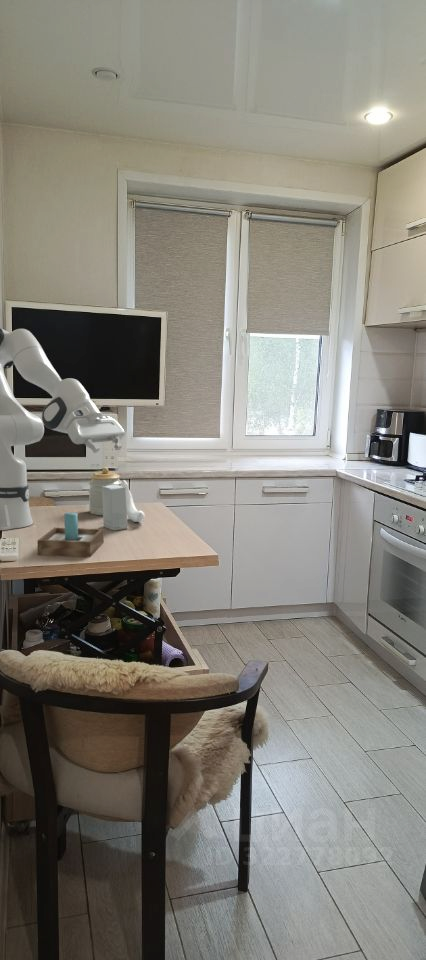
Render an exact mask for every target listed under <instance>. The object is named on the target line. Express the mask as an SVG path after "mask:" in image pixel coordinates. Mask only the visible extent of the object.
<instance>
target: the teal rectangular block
mask: <svg viewBox="0 0 426 960" xmlns="http://www.w3.org/2000/svg"><path fill="white" fill-rule="evenodd" d="M63 516H64V521H63V522H64V528H65V540H68V541H78V528H79V519H78V516H79V515H78V513H77V512H65V513H64V515H63Z"/></svg>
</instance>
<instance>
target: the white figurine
mask: <svg viewBox="0 0 426 960" xmlns="http://www.w3.org/2000/svg"><path fill="white" fill-rule="evenodd" d="M122 483H123V487H126V488H125V489H126V509H127V518H129V519H130V520H131V521H132V522H134V523H141V522H142V521H144V519H145V517H146V515H145V512H144V511H143V510H138V509H137V508H136V506H135V502H134V499H133V495H132V492H131V491H130V489H129V484H128V482H127V481H126V480H125V479H123V480H122Z"/></svg>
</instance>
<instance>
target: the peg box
mask: <svg viewBox="0 0 426 960" xmlns="http://www.w3.org/2000/svg"><path fill="white" fill-rule="evenodd" d="M104 534H105V533H104V528H87V527H86V528H84V527H83V528H80V527H78V541H68V540H65V527H53V528H52V529H51V530H49V531H48V532H47V533H45V534H44V535H43V536H41V537H40V538H38V539H37V556H53V557H54V556H59V557H60V556H61V557H83V558H86V557H87V558H91V557H92V556H93V555H94V554H95V553H96V551H97V550H98V549H99V548H100V547H101V546H102V545H103V544H104V539H105V538H104V536H105V535H104Z"/></svg>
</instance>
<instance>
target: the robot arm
mask: <svg viewBox="0 0 426 960" xmlns="http://www.w3.org/2000/svg"><path fill="white" fill-rule="evenodd" d="M13 366H15V369H16V370H17V372H18V373H19V374H20V375H21V377H22V378H23V380H25V381H26V382H28V383H31V384H33V385H36V386H37V387H39V388H41V389H42V390H44V391H46V392H47V393H48V394H49V395H50V396H51V397H52V398H51V399H50V400H49V402H48V404H46V405H45V406H44V407H43V410H42V411H41V412H42V413H41V418H40V417H39V416H38V415H35V414H34V413H32V412H30V411H29V410H27V409H26V408H25V407H24V406H23V405H21V404H20V402H19V401H18V400H17V399H16V397H15V395H14V393H13V392H12V390H11V387H10V384H9V383H8V380H7V377H6V375H5V371H4V369H10V368H11V367H13ZM45 427H46V428H47V429H49V430H52V431H56V432H59V433H64V434H67V435H68V437H69V439H70V440H71V442H72V443H73V444H76V445H85V446H86V447H87V448H89V449H90V450H91V451H92V452H93V454H96V453H99V451H100V449H101V448H100V447H99V445H98V444H95V443H103V442H104V443H105V442H112V443H114V445H113V448H114V449H115V451H120V450H121V449H122V445H121V440H122V439H123V437H124V436H125V432H126V431H125V430H124V428H123V427H122V425H121V424H120V423H119V422H118V421H117V420H116V419H115V418H112V417H111V416H108V415H107V416H103V414H102V412H101V411H100V410H99V408H98V406H97V405H96V403H95V402H94V401H92V399H91V397H90V393H88V391H87V390H86V388H85V387H84V385H82V383H81V382H80V381H79V380H78V379H75V378H72V377H71V378H70V377H69V378H64V379H63V378H61V376H60V374H59V373H58V372H57V371H56V369H55V368H54V366H53V365H52V362H51V361H50V360H49V359H48V357H47V354H46V353H45V351H44V349H43V347H42V345H41V344H40V342H39V341H38V340H37V338H36V337H35V335H33V333H32V332H31V331H30V330H28V329H26V328H17V329H15V330H13V331H11V332H9V331H8V330H6V329H4V328H1V327H0V531H7V530H11V529H12V530H13V529H20V528H25V527H29V526H31V525H33V524H34V521H33V518H32V517H33V516H32V515H31V510H30V503H29V500H30V490H29V484H28V477H27V476H28V475H27V464H26V462H25V461H24V460H23V459H22V458H20V457H19V456H16V455H14V454H13V451H12V447H14V446H15V447H16V446H29V445H31V444H34V443H37V442H38V443H39V442H40V441H41V440H42V438H43V437H44V433H45Z"/></svg>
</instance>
